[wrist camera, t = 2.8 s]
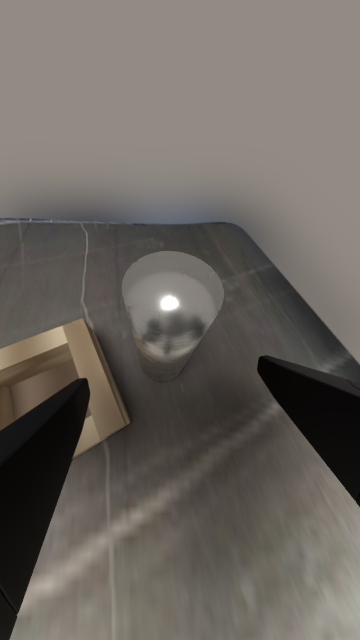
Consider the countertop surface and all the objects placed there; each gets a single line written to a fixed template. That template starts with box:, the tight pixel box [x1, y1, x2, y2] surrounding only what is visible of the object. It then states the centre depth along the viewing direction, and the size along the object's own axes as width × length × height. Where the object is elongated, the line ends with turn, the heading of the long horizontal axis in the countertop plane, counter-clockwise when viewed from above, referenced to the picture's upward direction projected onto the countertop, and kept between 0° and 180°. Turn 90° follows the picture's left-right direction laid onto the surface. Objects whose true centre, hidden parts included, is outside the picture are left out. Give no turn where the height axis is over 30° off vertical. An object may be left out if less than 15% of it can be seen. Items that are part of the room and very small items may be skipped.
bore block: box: [0, 318, 132, 460], centre depth 15 cm, size 10×10×4 cm
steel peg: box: [122, 251, 224, 382], centre depth 14 cm, size 5×5×13 cm
